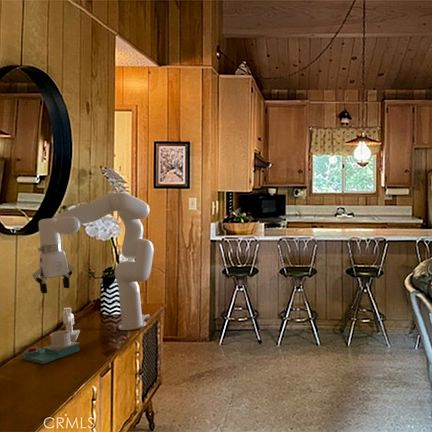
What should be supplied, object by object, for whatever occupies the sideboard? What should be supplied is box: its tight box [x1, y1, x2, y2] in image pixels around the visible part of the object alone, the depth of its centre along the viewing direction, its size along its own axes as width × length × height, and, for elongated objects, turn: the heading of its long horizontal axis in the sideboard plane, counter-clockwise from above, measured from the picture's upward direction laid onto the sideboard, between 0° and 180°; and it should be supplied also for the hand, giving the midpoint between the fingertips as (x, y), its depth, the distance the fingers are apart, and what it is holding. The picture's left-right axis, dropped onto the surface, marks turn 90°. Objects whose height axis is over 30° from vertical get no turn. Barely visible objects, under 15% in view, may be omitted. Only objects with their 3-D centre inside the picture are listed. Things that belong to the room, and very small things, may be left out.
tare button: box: [27, 345, 38, 352], centre depth 198 cm, size 3×3×2 cm
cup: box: [49, 330, 71, 348], centre depth 201 cm, size 7×7×5 cm
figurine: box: [61, 307, 81, 342], centre depth 218 cm, size 7×9×15 cm
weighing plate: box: [42, 341, 80, 359], centre depth 201 cm, size 10×10×4 cm
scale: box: [22, 347, 59, 365], centre depth 200 cm, size 16×14×3 cm
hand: (55, 290), depth 200 cm, fingers open, 9 cm apart
